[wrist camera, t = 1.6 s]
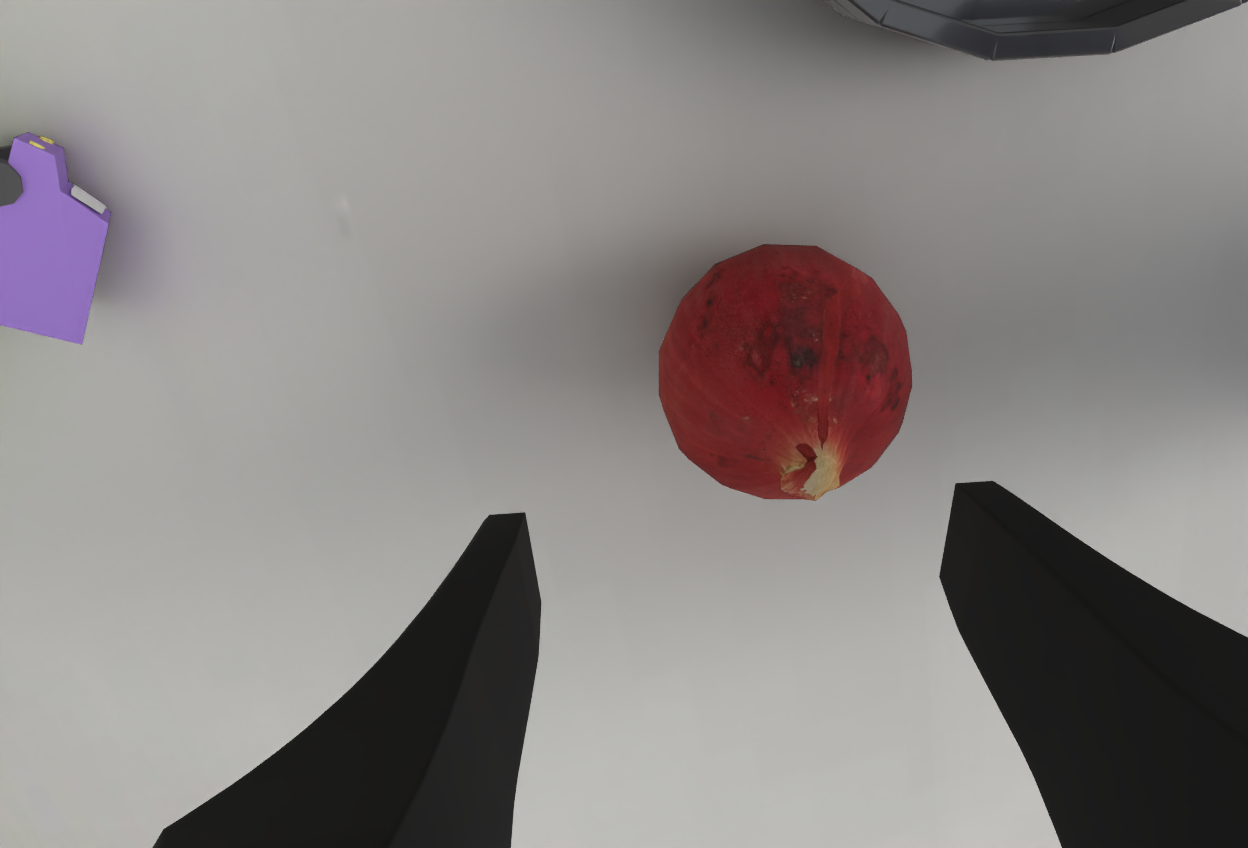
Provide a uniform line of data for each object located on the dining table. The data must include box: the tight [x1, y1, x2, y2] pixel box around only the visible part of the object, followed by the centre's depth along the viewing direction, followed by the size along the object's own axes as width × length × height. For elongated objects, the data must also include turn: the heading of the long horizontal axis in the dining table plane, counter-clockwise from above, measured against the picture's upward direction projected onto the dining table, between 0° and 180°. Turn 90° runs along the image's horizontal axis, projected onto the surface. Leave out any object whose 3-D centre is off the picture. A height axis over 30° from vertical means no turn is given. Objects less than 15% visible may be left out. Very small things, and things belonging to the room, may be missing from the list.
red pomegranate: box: [659, 244, 912, 501], centre depth 18 cm, size 6×6×8 cm
